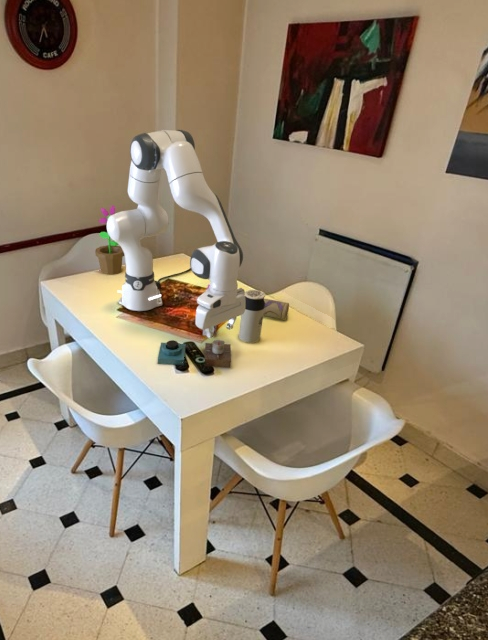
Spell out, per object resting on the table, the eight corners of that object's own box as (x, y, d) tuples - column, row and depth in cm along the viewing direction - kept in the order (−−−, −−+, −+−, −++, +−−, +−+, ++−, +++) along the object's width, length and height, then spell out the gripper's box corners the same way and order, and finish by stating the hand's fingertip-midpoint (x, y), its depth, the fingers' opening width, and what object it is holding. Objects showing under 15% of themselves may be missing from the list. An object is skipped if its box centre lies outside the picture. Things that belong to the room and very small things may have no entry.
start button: (167, 344, 163) (167, 339, 161) (178, 344, 162) (178, 340, 161) (166, 350, 159) (166, 345, 158) (177, 350, 159) (177, 346, 158)
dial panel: (204, 350, 167) (205, 342, 165) (229, 351, 166) (230, 343, 164) (204, 366, 158) (204, 358, 156) (230, 367, 157) (231, 360, 155)
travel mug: (234, 338, 174) (239, 293, 163) (246, 331, 178) (252, 287, 168) (251, 345, 169) (258, 300, 159) (263, 338, 174) (270, 293, 164)
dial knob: (212, 348, 162) (212, 338, 160) (223, 348, 162) (224, 339, 159) (212, 353, 159) (212, 344, 156) (223, 354, 158) (224, 344, 156)
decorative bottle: (288, 315, 190) (291, 300, 186) (283, 323, 184) (286, 307, 180) (230, 302, 199) (231, 288, 195) (223, 309, 194) (225, 294, 190)
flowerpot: (129, 266, 232) (126, 204, 214) (120, 277, 221) (117, 212, 203) (102, 264, 235) (97, 202, 217) (92, 274, 223) (86, 210, 206)
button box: (161, 347, 168) (161, 338, 165) (185, 349, 167) (186, 339, 165) (157, 363, 159) (157, 353, 156) (183, 365, 158) (184, 355, 156)
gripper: (238, 283, 155) (234, 320, 163) (193, 299, 144) (191, 338, 152) (252, 289, 151) (247, 327, 159) (207, 306, 140) (204, 345, 148)
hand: (219, 332), depth 156 cm, fingers open, 8 cm apart
